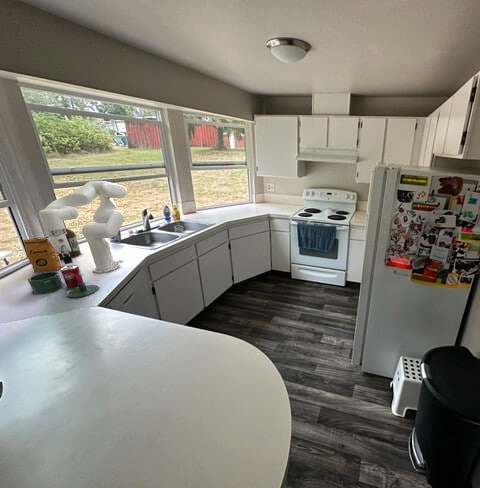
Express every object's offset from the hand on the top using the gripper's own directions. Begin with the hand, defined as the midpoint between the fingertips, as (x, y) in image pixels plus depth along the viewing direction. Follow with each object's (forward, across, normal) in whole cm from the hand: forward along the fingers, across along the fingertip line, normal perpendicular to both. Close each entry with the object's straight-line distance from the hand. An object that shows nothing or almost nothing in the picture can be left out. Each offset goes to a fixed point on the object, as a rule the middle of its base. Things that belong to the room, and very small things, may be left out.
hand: (66, 261), depth 140 cm
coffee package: (+16, +40, +5) cm, 44 cm away
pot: (+16, +8, +10) cm, 21 cm away
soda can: (+16, 0, 0) cm, 16 cm away
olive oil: (+16, +59, -10) cm, 62 cm away
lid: (+16, -12, -1) cm, 20 cm away
